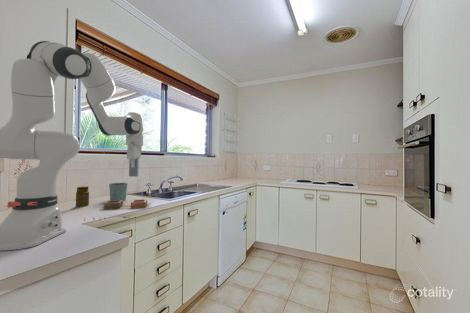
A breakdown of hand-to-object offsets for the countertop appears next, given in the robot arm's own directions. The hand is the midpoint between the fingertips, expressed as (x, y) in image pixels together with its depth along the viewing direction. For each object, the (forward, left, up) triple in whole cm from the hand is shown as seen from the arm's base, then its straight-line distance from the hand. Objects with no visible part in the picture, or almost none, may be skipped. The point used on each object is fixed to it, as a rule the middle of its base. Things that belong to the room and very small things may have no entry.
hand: (134, 167), depth 122 cm
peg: (0, 0, -5) cm, 5 cm away
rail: (0, +3, -24) cm, 24 cm away
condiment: (+6, +27, -24) cm, 37 cm away
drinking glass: (+19, +12, -24) cm, 33 cm away
